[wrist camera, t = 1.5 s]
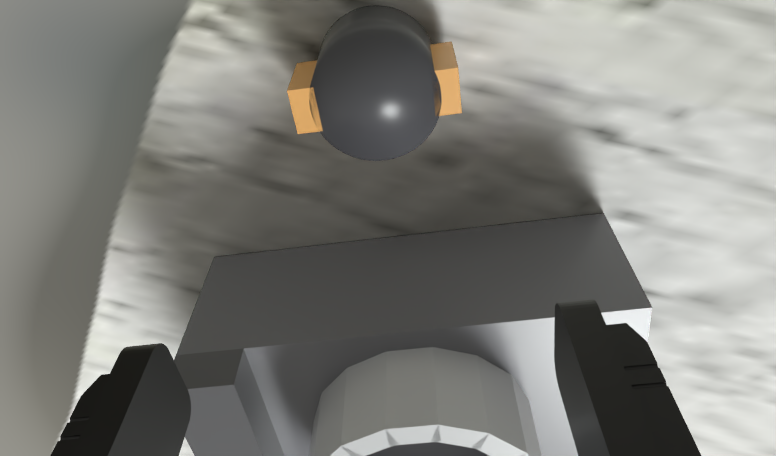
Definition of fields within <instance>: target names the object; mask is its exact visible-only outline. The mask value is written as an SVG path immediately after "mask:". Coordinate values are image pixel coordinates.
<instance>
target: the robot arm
mask: <svg viewBox="0 0 776 456" xmlns="http://www.w3.org/2000/svg"><path fill="white" fill-rule="evenodd" d="M554 363H555V371H556V378H557V383H558V387H559V391H560V394H561V397H562V401H563V404H564V408H565V411H566V415H567V418H568V422H569V425H570V429H571V432H572V436H573V439H574V442H575V446H576V449H577V453H578V456H701V454H700V452H699V450H698V448H697V446H696V444H695V442H694V440H693V437H692V435H691V433H690V431H689V429H688V427H687V425H686V423H685V421H684V419H683V416H682V414H681V412H680V410H679V408H678V406H677V404H676V402H675V400H674V398H673V395H672V393H671V391H670V389H669V387H668V386H666V381H665V379H664V377H663V374H662V372H661V370H660V368H658V366H657V362H656V360H655V358H654V356H653V353H652V351H651V349H650V347H649V345H648V343H647V341H646V340H645V339H644V338H643V337H641V336H640V335H639V334H638V333H637V332H636V331H635V330H634V329H633V328H631V327H630V326H629V325H628V324H627V323H621V324H611V325H606V323H605V321H604V318H603V316H602V314H601V311H600V309H599V306H598V304H597V302H596V301H595V300H594V299H591V300H581V301H572V302H562V303H556V305H555V326H554ZM190 416H191V400H190V395H189V392H188V389H187V387H186V385H185V383H184V381H183V379H182V377H181V375H180V373H179V371H178V369H177V367H176V364H175V362H174V360H173V358H172V356H171V354H170V352H169V350H168V348H167V347H166V346H165V345H164V344H162V343H161V344H150V345H141V346H131V347H126V348H124V349H123V350H122V351H121V353H120V354H119V356H118V358H117V360H116V362H115V365H114V367H113V369H112V371H111V373H110V374H105V375H101V376H100V377H99V378H98V379H97V380H96V381H95V382H94V383H93V384H92V385H91V386H90V387H89V388H88V389H87V390H86V391H85V392H84V394H83V395H82V396H81V398H80V399H79V401H78V403H77V405H76V407H75V409H74V411H73V413H72V415H71V417H70V423H67V425H66V427H65V429H64V430H63V432H62V434H61V436H60V437H61V440H60V441H58V442H57V444H56V446H55V448H54V450H53V452H52V454H51V456H179V453H180V449H181V446H182V443H183V440H184V437H185V434H186V431H187V428H188V424H189V421H190Z"/></svg>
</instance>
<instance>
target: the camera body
mask: <svg viewBox="0 0 776 456" xmlns="http://www.w3.org/2000/svg"><path fill="white" fill-rule="evenodd" d="M591 299H594V300H595V301H596V302H597V304H598V306H599V309H600V311H601V314H602V316H603V318H604V321H605V323H606V325H611V324H621V323H627V324H628V325H629V326H630V327H631V328H633V329H634V330H635V331H636V332H637V333H638V334H639V335H640V336H641V337H643V338H644V339H645V340H646V341H647V343H648V336H649V329H650V321H651V313H652V306H651V304H650V302H649V300H648V298H647V297H646V295H645V293H644V291H643V289H642V287H641V285H640V283H639V281H638V279H637V277H636V275H635V273H634V271H633V269H632V267H631V265H630V263H629V261H628V260H627V258H626V256H625V254H624V252H623V250H622V248H621V246H620V244H619V242H618V240H617V238H616V236H615V234H614V232H613V230H612V228H611V226H610V224H609V223H608V221H607V219H606V217H605V215H604V213H600V214H591V215H582V216H573V217H565V218H556V219H547V220H538V221H529V222H520V223H512V224H503V225H494V226H485V227H476V228H467V229H459V230H450V231H441V232H432V233H423V234H414V235H406V236H397V237H388V238H379V239H370V240H361V241H353V242H344V243H335V244H326V245H317V246H308V247H300V248H291V249H282V250H273V251H264V252H255V253H246V254H238V255H229V256H220V257H214V259H213V262H212V264H211V267H210V269H209V272H208V274H207V277H206V280H205V282H204V285H203V287H202V290H201V292H200V295H199V298H198V300H197V303H196V305H195V308H194V310H193V313H192V316H191V318H190V321H189V323H188V326H187V328H186V331H185V333H184V336H183V339H182V341H181V344H180V346H179V349H178V351H177V354H176V357H175V359H174V362H175V364H176V367H177V369H178V371H179V373H180V375H181V377H182V379H183V381H184V383H185V385H186V387H187V389H188V392H189V395H190V400H191V416H190V421H189V424H188V428H187V431H186V434H185V438H186V440H187V442H188V443H189V445H190V447H191V449H192V451H193V453H194V455H195V456H578V453H577V449H576V446H575V442H574V439H573V436H572V432H571V429H570V425H569V422H568V418H567V415H566V411H565V408H564V404H563V401H562V397H561V394H560V391H559V387H558V383H557V378H556V371H555V363H554V326H555V305H556V303H562V302H572V301H581V300H591Z"/></svg>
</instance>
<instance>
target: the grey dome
mask: <svg viewBox="0 0 776 456" xmlns="http://www.w3.org/2000/svg"><path fill="white" fill-rule="evenodd" d="M287 93H288V97H289V101H290V105H291V109H292V113H293V117H294V121H295V125H296V129H297V133H298V134H304V133H312V132H319V131H320V133H321V134H322V135H323V136H324V138H325V139H326V140H327V141H328V142H329V143H330V144H331V145H333V146H334V147H335V148H337V149H338V150H340V151H342V152H343V153H345V154H347V155H350V156H352V157H355V158H359V159H364V160H372V161H380V160H389V159H394V158H397V157H400V156H402V155H405V154H407V153H409V152H411V151H412V150H414V149H415V148H417V147H418V146H419V145H420V144H422V143H423V142H424V141H425V140H426V139H427V137H428V136H429V135H430V133H431V132H432V130H433V129H434V127H435V125H436V123H437V120H438V118H439V116H443V115H451V114H458V113H462V109H461V97H460V84H459V72H458V65H457V61H456V57H455V53H454V49H453V45H452V42H445V43H437V44H432V42H431V40H430V38H429V36H428V35H427V33H426V31H425V30H424V29H423V27H422V26H421V25H420V24H419V23H418V22H417V21H416V20H415V19H414V18H412V17H411V16H409V15H408V14H406V13H404V12H402V11H400V10H397V9H394V8H391V7H386V6H367V7H362V8H359V9H356V10H353V11H351V12H349V13H347V14H346V15H344V16H343V17H341V18H340V19H339V20H338V21H337V22H336V23H334V24H333V26H332V27H331V28H330V29H329V31H328V33H327V34H326V36H325V38H324V40H323V43H322V46H321V49H320V53H319V56H318V60H315V61H308V62H301V63H297V64H296V67H295V70H294V73H293V76H292V78H291V81H290V84H289V87H288V90H287Z"/></svg>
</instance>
